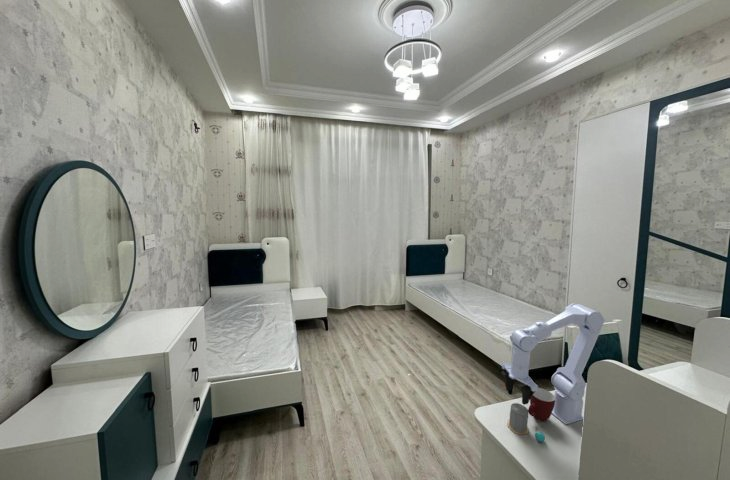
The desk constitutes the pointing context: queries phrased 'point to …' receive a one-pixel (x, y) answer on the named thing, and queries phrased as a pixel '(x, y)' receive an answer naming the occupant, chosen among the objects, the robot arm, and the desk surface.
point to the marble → (540, 436)
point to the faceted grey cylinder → (518, 417)
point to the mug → (541, 405)
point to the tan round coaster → (517, 431)
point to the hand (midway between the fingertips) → (516, 396)
